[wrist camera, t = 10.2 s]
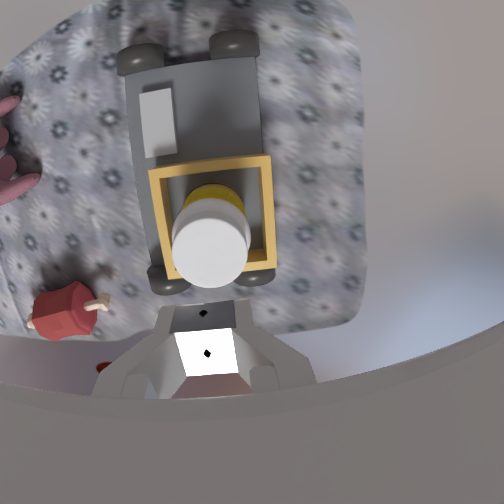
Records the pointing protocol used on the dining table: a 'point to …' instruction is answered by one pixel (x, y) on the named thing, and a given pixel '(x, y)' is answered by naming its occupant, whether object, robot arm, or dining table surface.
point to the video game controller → (11, 161)
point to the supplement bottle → (211, 236)
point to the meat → (66, 311)
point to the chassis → (198, 146)
